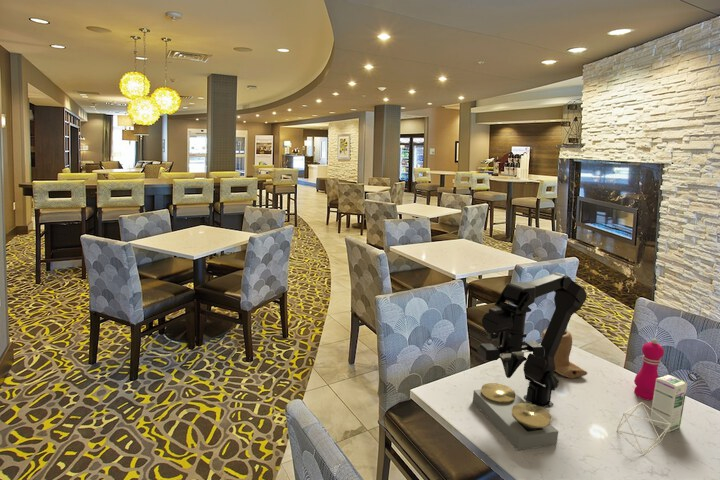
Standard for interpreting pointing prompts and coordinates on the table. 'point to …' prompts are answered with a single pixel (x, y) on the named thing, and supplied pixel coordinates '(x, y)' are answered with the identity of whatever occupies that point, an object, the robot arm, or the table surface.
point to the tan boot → (566, 358)
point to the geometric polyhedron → (643, 436)
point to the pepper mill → (648, 370)
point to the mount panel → (514, 424)
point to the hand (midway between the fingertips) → (508, 377)
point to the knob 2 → (531, 416)
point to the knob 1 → (498, 393)
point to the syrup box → (668, 402)
